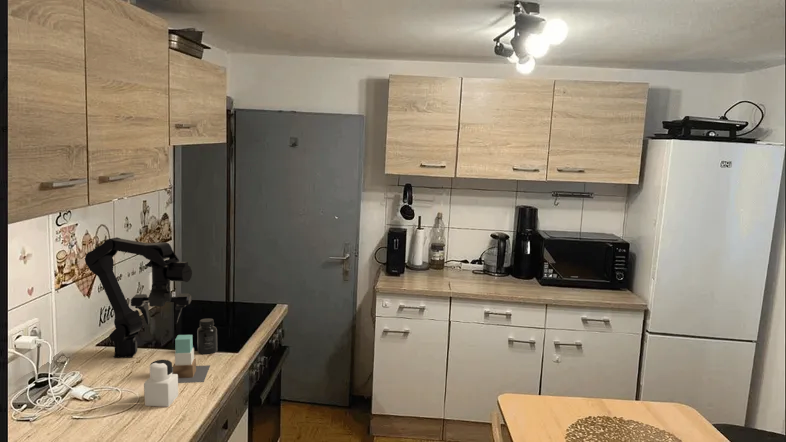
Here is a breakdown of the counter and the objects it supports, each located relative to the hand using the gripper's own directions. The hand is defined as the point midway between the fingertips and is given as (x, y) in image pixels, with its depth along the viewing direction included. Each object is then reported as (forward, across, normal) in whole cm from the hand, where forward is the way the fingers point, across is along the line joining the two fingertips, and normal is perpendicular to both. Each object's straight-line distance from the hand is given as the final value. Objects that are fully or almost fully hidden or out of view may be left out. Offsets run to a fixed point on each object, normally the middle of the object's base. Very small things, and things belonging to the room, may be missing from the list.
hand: (162, 323), depth 200 cm
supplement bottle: (+13, +14, +6) cm, 20 cm away
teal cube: (+4, +10, -15) cm, 19 cm away
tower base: (+12, +10, -15) cm, 22 cm away
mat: (+13, +10, -15) cm, 22 cm away
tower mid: (+8, +10, -15) cm, 20 cm away
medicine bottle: (+13, +7, -34) cm, 37 cm away
